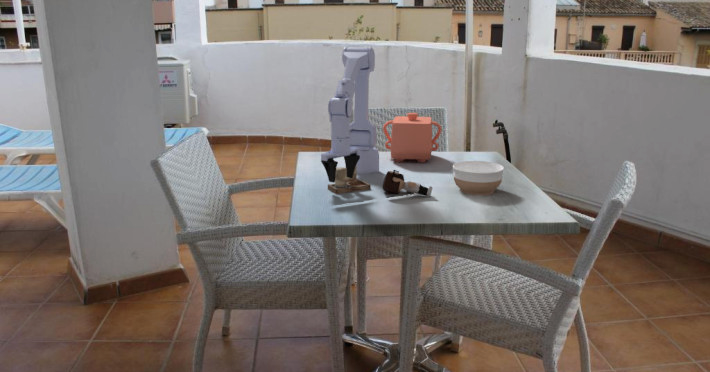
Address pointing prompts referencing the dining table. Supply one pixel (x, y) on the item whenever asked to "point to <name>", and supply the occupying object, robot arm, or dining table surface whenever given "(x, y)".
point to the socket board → (350, 187)
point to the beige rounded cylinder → (341, 178)
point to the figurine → (403, 185)
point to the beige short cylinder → (353, 176)
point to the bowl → (477, 177)
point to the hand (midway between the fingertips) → (340, 179)
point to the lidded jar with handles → (411, 137)
